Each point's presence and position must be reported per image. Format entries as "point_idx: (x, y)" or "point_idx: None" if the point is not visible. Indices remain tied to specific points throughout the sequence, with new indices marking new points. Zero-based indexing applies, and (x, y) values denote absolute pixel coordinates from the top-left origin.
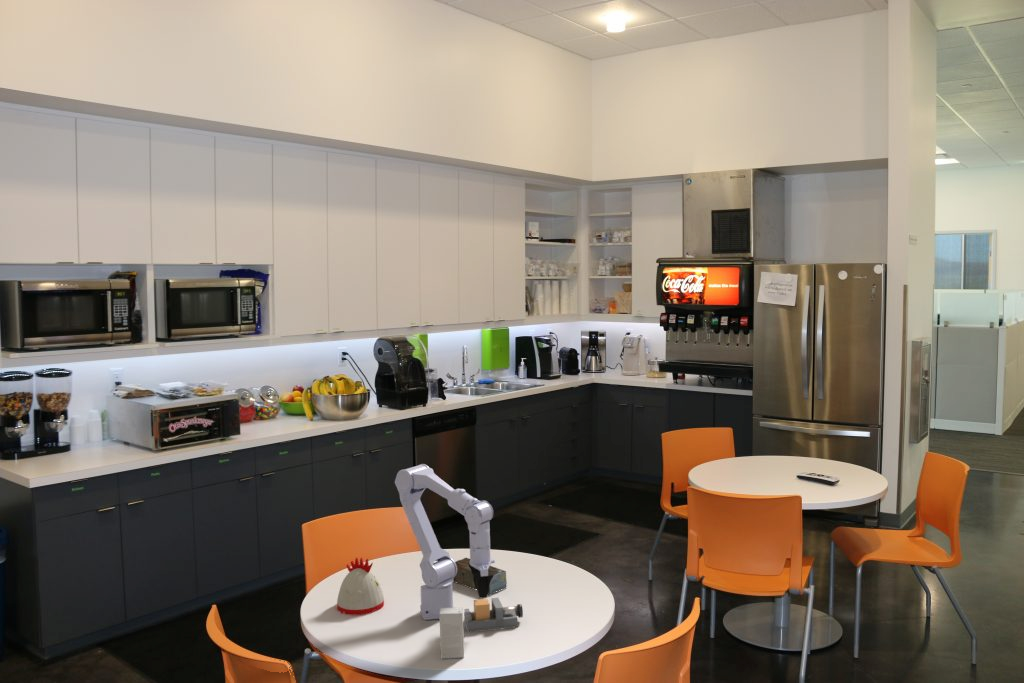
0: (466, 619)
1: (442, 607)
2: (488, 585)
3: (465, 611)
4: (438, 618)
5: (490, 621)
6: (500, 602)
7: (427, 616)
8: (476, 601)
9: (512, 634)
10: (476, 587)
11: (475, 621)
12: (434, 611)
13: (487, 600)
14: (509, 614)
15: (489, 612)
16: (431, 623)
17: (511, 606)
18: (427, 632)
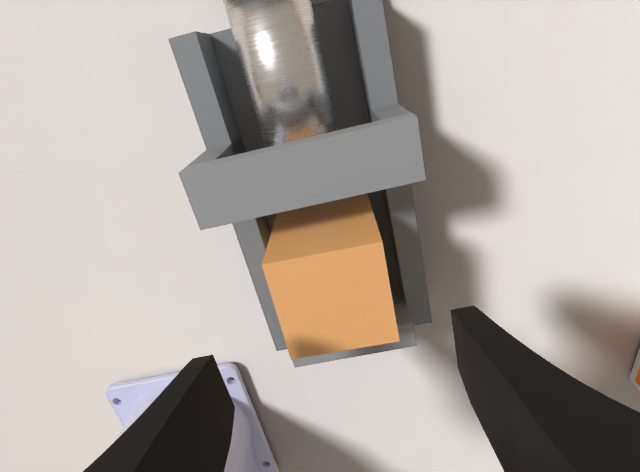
0: None
1: (238, 455)
2: (587, 393)
3: (333, 359)
4: (260, 425)
5: (411, 193)
6: (294, 146)
7: (259, 469)
8: (316, 339)
9: (493, 26)
10: (230, 411)
11: (416, 283)
12: (247, 466)
13: (296, 263)
14: (322, 55)
15: (374, 217)
16: (307, 441)
17: (257, 37)
18: (404, 445)
